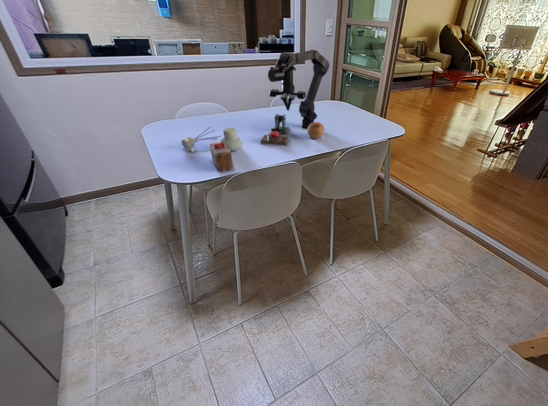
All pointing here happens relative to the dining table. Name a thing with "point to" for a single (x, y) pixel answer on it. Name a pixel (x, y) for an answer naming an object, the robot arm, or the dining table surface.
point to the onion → (315, 130)
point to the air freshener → (231, 139)
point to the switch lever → (278, 124)
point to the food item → (221, 156)
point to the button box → (274, 140)
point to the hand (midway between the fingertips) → (288, 110)
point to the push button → (274, 134)
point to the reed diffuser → (193, 142)
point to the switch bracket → (282, 124)
